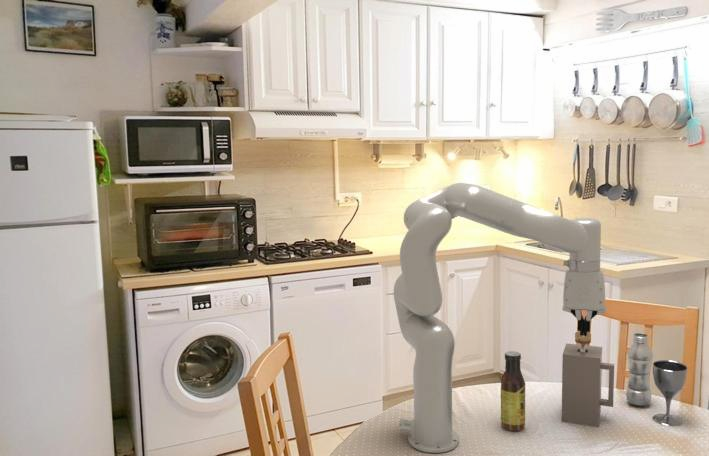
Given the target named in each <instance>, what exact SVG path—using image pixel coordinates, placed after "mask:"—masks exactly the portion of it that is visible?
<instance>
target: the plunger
mask: <svg viewBox="0 0 709 456" xmlns="http://www.w3.org/2000/svg"><path fill="white" fill-rule="evenodd" d="M574 342H575V343H578V344H579V345H580V352H585V345H586V344H587V345H588V344H591V343H592V333H590V332H587V336H585V335H584V333H583V335H580V331H576V332H575V333H574Z"/></svg>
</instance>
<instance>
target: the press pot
mask: <svg viewBox="0 0 709 456" xmlns="http://www.w3.org/2000/svg"><path fill="white" fill-rule="evenodd" d="M561 362H562V363H561V364H562V369H561V422H563V423H569V424H575V425H581V426H582V425H583V426H588V427H594V428H599V426H600V421H601V420H600V419H601V412H602V411H601V410H602V409H601V408H602V406H604V407H611V408H613V407H614V396H615V395H614V392H615V390H614V387H615V386H614V385H615V363H610V362H603V346H597V345H595V346H594V345H588V344H587V345H586V344H585V352H580V344H575V343H567V342H566V343H565V346H564V349H563V351H562V361H561ZM602 370H607V371H608V393H607V396H608V397H607V398H608V399H607V398H602V375H603V374H602Z"/></svg>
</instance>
